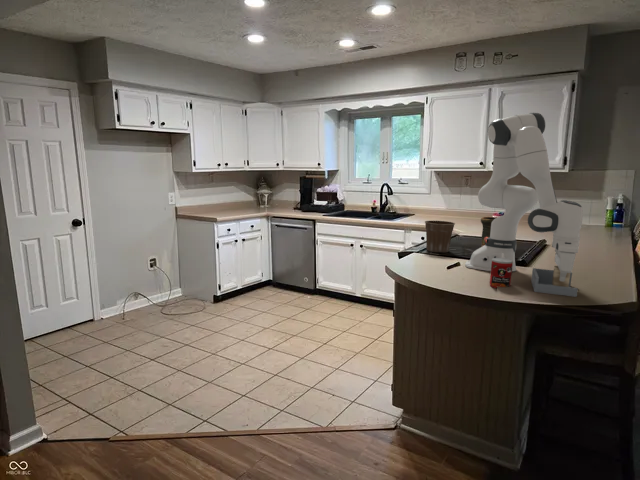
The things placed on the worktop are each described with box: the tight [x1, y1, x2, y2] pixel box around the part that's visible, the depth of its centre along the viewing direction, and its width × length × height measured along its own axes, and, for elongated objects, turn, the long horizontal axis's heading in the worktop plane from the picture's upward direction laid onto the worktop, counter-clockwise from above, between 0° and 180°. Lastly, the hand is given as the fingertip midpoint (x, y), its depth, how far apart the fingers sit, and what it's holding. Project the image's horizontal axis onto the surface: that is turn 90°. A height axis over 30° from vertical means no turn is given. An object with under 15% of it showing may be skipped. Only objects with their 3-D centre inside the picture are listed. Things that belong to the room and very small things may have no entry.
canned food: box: [489, 258, 513, 289], centre depth 169 cm, size 8×8×11 cm
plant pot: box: [424, 220, 456, 254], centre depth 236 cm, size 16×16×16 cm
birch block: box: [552, 265, 570, 287], centre depth 164 cm, size 5×5×7 cm
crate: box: [530, 267, 578, 298], centre depth 166 cm, size 14×16×6 cm
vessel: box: [480, 216, 498, 247], centre depth 230 cm, size 14×14×20 cm
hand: (560, 279), depth 164 cm, fingers closed on birch block, 5 cm apart
